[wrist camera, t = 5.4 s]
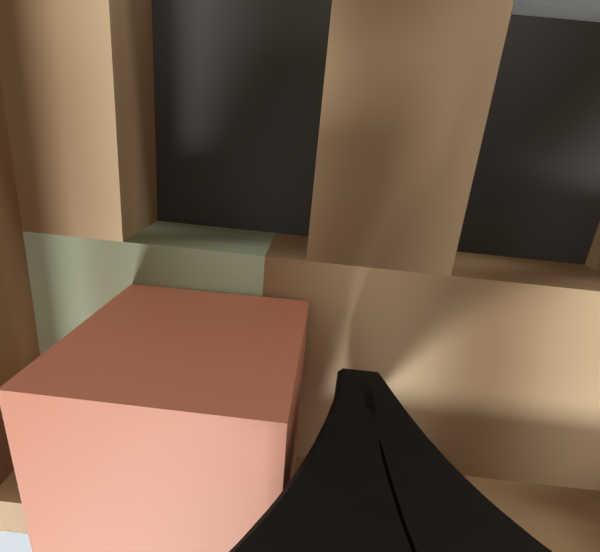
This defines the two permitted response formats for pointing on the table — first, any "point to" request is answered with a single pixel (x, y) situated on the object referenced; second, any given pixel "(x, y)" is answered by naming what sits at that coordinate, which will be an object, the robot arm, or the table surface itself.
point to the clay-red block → (159, 422)
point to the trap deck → (329, 208)
